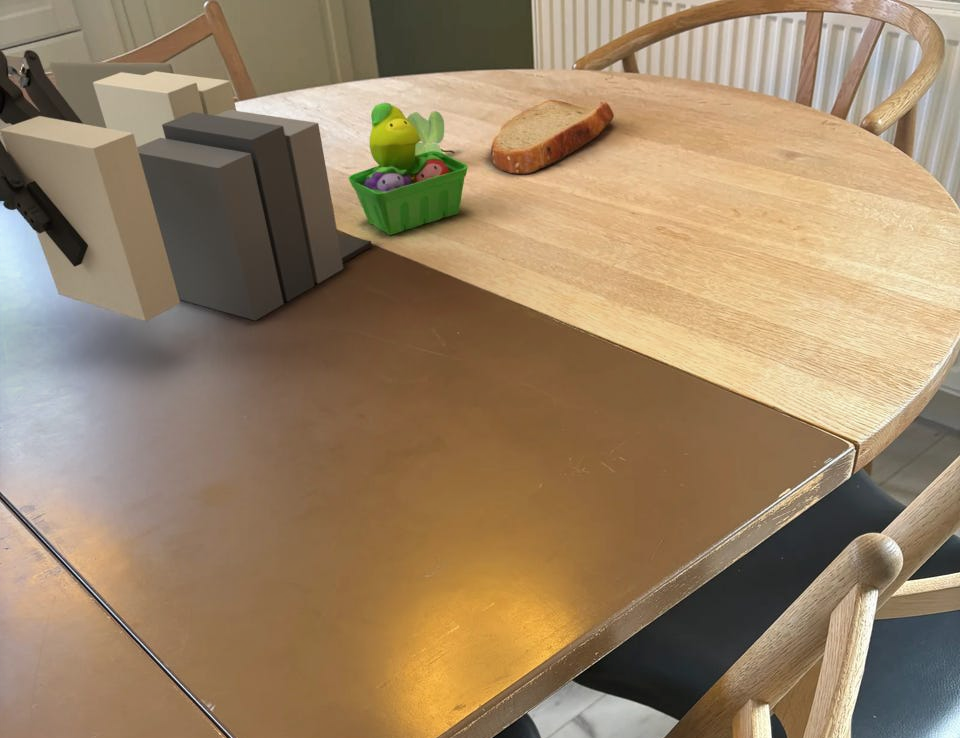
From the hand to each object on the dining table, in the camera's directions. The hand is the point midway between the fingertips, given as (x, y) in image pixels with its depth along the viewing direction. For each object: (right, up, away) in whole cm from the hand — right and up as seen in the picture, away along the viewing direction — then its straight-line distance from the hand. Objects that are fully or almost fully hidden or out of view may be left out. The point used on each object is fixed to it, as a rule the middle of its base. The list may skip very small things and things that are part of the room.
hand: (102, 245), depth 87 cm
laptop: (-9, +30, +48) cm, 58 cm away
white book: (0, -3, +3) cm, 5 cm away
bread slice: (+42, +28, +40) cm, 65 cm away
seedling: (+27, +25, +38) cm, 53 cm away
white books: (+1, +17, +33) cm, 37 cm away
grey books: (+12, +4, +18) cm, 22 cm away
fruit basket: (+25, +13, +26) cm, 38 cm away
